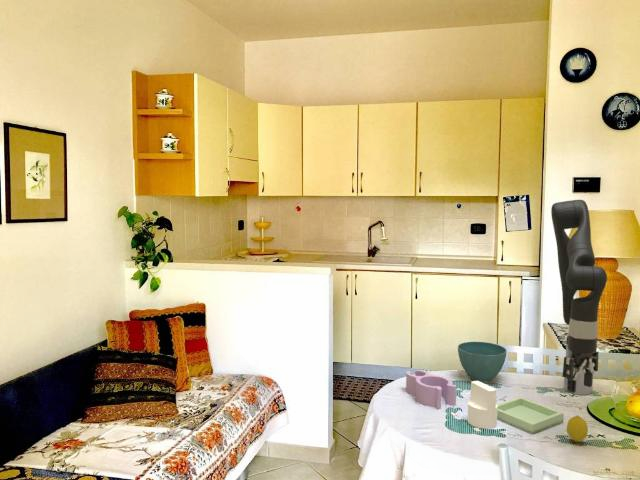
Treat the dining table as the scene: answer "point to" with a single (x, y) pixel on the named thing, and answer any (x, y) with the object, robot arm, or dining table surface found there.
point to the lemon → (577, 428)
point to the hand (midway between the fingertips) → (579, 389)
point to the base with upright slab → (482, 406)
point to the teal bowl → (481, 360)
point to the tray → (528, 415)
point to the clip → (430, 388)
